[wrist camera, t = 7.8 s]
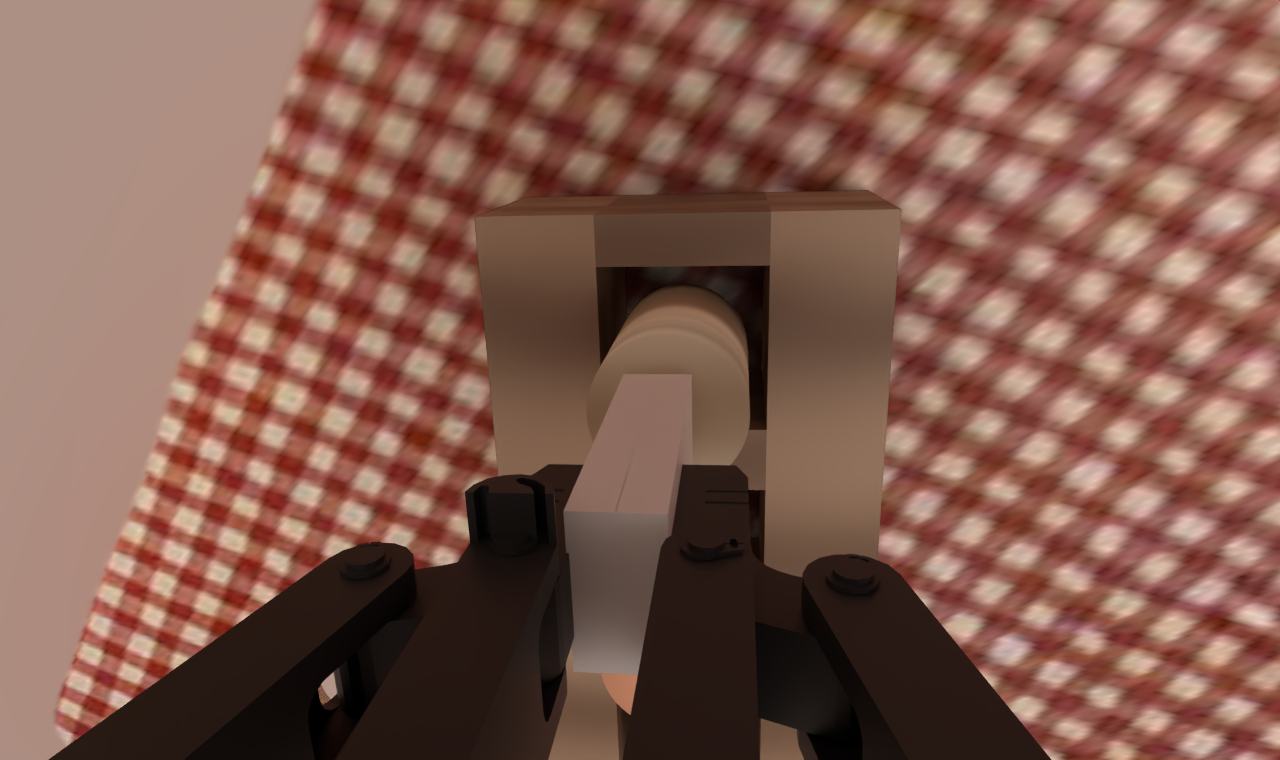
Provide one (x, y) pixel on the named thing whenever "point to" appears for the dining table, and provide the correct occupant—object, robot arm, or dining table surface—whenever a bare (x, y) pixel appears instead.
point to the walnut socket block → (779, 394)
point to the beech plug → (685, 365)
